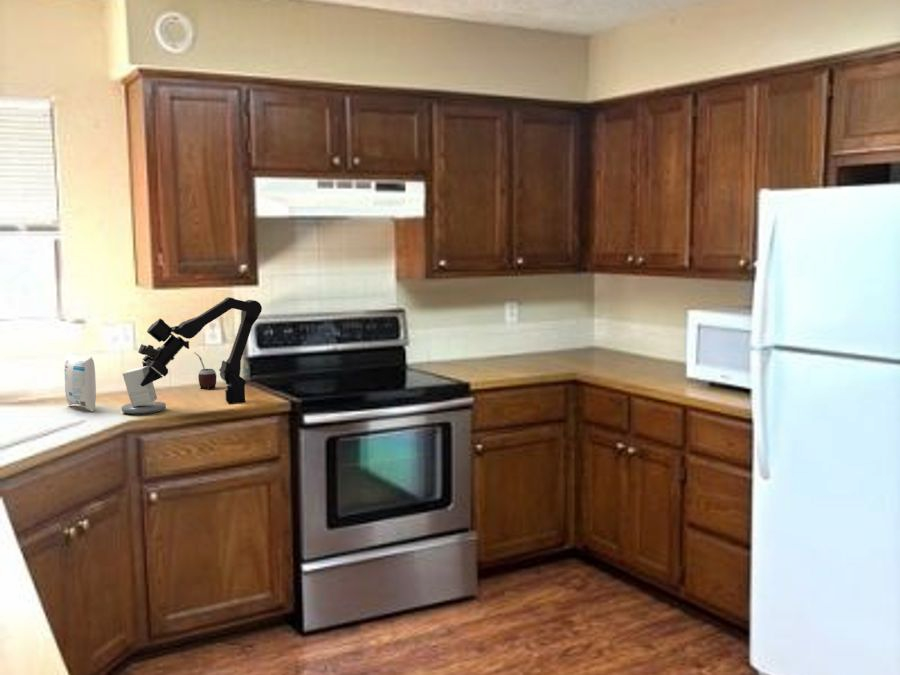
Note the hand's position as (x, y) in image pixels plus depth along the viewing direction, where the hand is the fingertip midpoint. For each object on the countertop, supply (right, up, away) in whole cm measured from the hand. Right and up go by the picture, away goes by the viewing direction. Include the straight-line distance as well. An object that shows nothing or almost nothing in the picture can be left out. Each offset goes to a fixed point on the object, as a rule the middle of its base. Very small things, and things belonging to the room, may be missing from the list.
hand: (139, 383), depth 318 cm
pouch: (-24, -10, +9) cm, 28 cm away
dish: (+1, -10, +2) cm, 10 cm away
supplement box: (+2, -7, +1) cm, 7 cm away
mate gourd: (+11, -5, +47) cm, 48 cm away
